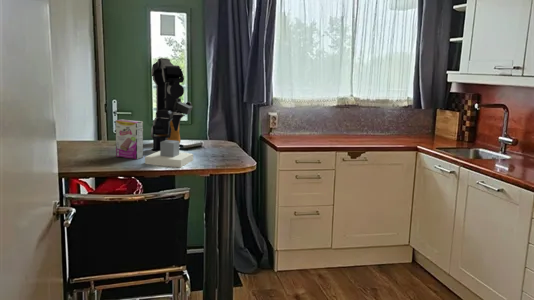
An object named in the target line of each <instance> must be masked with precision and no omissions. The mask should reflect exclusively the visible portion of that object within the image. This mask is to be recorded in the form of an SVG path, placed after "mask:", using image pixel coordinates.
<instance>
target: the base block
mask: <svg viewBox="0 0 534 300" xmlns="http://www.w3.org/2000/svg"><path fill="white" fill-rule="evenodd" d="M189 162H190V163H192V162H194V153H188V152H179V155H177V156H175V157H166V156H160V151H155V152H153V153H151V154H149V155H145V156H144V165H154V166H164V167H172V168H174V167H175V168H183V167H184V166H186V165H188V164H189Z"/></svg>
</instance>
